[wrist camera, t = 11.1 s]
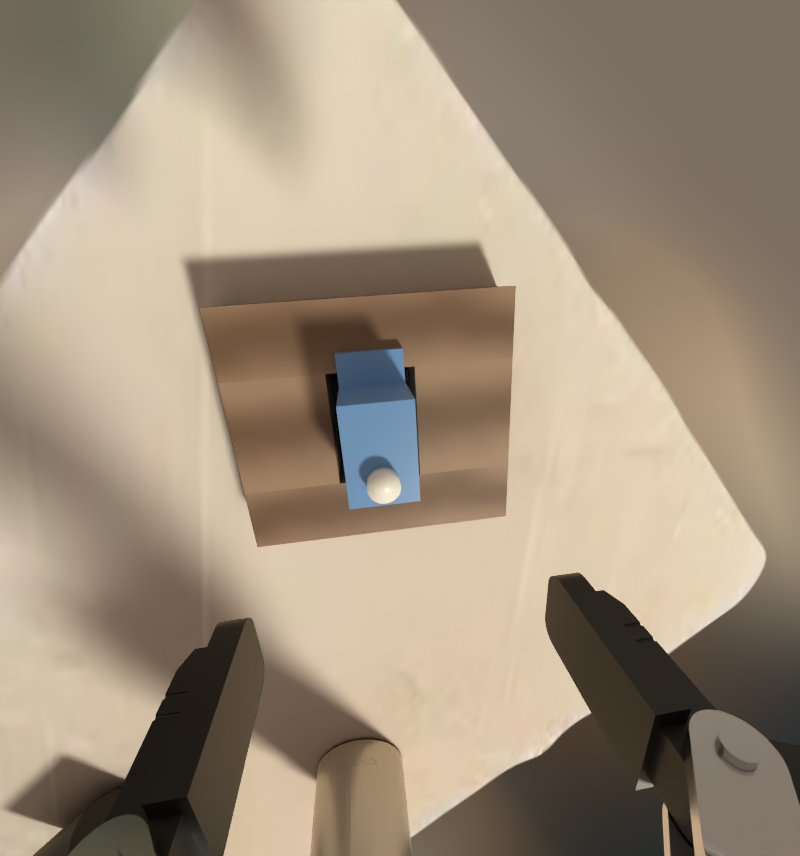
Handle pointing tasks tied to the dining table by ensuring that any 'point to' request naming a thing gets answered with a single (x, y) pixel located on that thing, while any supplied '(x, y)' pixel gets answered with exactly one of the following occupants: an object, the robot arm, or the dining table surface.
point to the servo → (377, 428)
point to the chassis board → (315, 419)
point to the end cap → (80, 826)
